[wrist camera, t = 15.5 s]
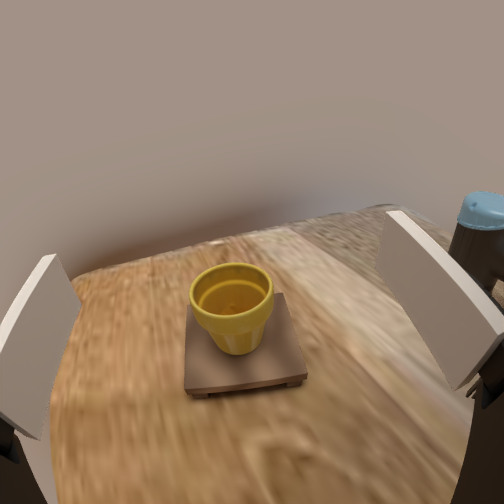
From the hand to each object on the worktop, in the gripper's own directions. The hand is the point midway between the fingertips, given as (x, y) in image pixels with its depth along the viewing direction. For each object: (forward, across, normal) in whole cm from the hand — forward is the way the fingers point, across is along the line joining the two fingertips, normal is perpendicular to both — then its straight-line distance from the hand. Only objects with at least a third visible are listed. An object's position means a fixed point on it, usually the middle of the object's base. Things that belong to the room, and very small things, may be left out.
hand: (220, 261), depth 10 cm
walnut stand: (+18, 0, -30) cm, 35 cm away
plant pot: (+18, 0, -26) cm, 32 cm away
